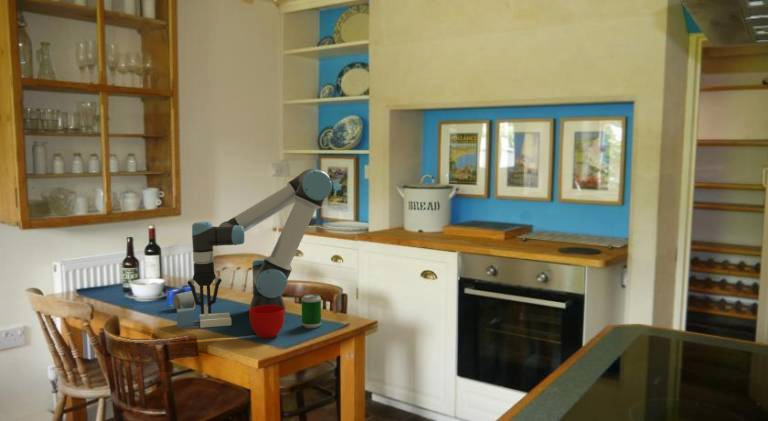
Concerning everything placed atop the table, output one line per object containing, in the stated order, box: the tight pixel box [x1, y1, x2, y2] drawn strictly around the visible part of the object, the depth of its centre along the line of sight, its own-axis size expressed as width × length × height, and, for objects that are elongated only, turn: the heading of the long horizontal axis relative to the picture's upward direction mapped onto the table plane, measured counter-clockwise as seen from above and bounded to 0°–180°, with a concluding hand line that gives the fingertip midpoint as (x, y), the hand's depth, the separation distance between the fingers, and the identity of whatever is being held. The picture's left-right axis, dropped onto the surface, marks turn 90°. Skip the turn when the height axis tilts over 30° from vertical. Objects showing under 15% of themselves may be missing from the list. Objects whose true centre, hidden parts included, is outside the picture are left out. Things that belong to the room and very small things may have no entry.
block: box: [176, 308, 195, 329], centre depth 244 cm, size 6×6×6 cm
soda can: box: [301, 293, 322, 329], centre depth 246 cm, size 8×8×12 cm
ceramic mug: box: [172, 290, 197, 312], centre depth 272 cm, size 11×8×8 cm
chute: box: [180, 312, 232, 330], centre depth 246 cm, size 18×10×4 cm, turn 107°
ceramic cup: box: [248, 305, 286, 339], centre depth 235 cm, size 13×17×10 cm
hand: (206, 321), depth 246 cm, fingers closed
